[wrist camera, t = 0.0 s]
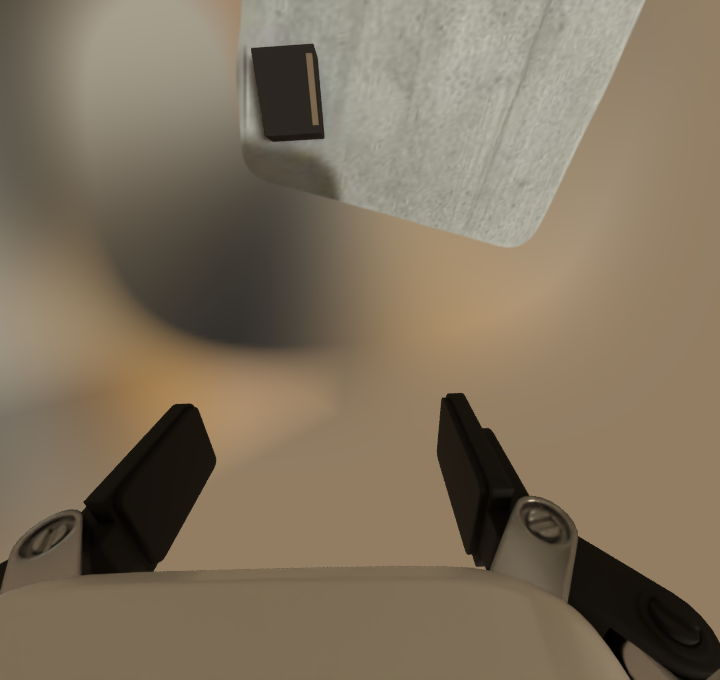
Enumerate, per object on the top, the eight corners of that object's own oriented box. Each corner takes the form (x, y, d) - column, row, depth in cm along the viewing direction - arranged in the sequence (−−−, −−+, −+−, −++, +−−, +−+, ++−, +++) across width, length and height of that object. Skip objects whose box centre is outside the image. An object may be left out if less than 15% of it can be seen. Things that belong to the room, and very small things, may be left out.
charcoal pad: (260, 61, 30) (250, 47, 27) (317, 57, 30) (313, 42, 27) (272, 141, 33) (264, 136, 30) (324, 138, 33) (321, 132, 30)
